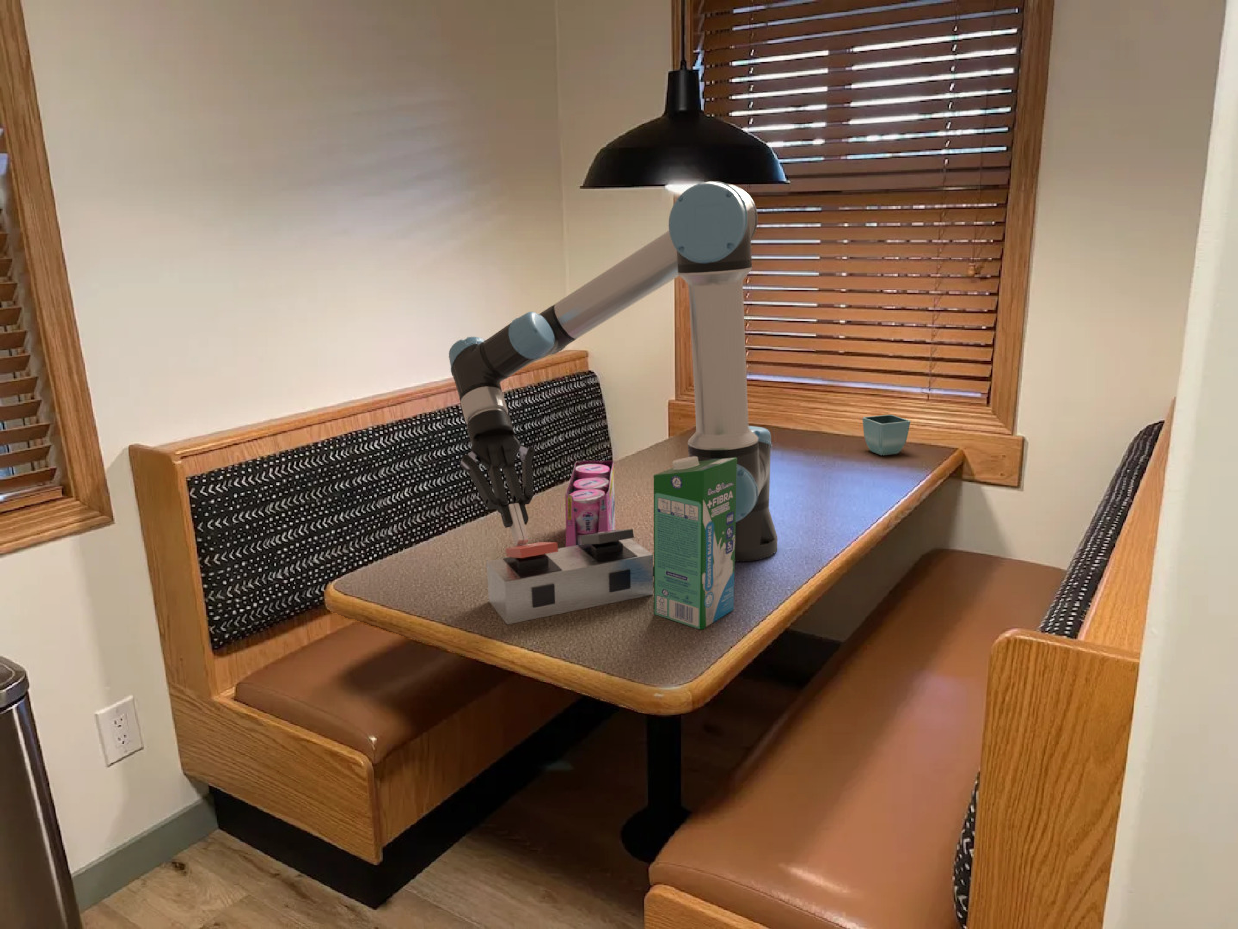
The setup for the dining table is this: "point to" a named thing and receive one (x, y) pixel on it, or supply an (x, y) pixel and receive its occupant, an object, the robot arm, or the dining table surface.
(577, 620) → the dining table surface
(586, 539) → the black rocker
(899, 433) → the flower pot
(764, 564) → the dining table surface
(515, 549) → the red rocker
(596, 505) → the gum box
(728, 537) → the milk carton
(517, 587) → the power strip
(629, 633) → the dining table surface
